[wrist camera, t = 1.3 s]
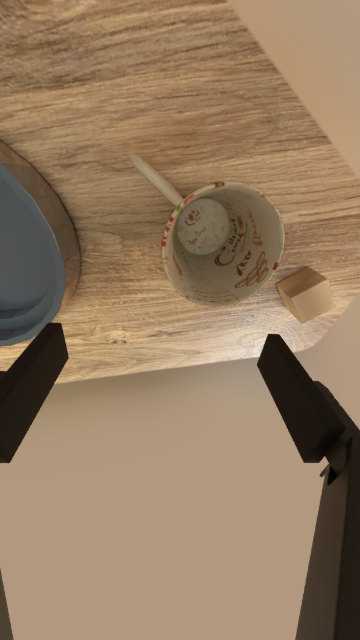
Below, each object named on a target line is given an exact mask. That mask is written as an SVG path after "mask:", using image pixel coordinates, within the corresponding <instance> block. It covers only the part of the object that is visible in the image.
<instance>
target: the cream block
mask: <svg viewBox="0 0 360 640" xmlns="http://www.w3.org/2000/svg"><path fill="white" fill-rule="evenodd" d="M276 286H277V288H278V291H279V293H280V295H281V297H282V300H283V302H284V304H285V306H286V308H287V309H288V310H289V311H290V312H291V313H292V314H293V315H294V316H295V317H296V318H297V320H298V321H299V322H300V323H301V324H302V323H304V322H306V321H308V320H310V319H312V318H314V317H316V316H318V315H320V314H322V313H324V312H326V311H329V310H331V309H333V308H335V307H336V305H335V301H334V298H333V295H332V291H331V288H330V285H329V282H328V279H327V278H325V277H324V276H322V275H320V274H319V273H317V272H315V271H314V270H312V269H310V268H309V267H306V268H304V269H302V270H300V271H299V272H297V273H295V274H293V275H291V276H290V277H288V278H286V279H284V280H282V281H281V282H279V283H277V284H276Z"/></svg>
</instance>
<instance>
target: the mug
mask: <svg viewBox="0 0 360 640" xmlns="http://www.w3.org/2000/svg"><path fill="white" fill-rule="evenodd" d="M130 159H131V162H132V164H133V165H134V166H135V167H136V169H137V170H138V171H139V172H140V173H141V174H142V175H143V176H144V177H145V178H146V179H147V180H148V181H149V182H150V183H151V184H152V185H153V186H154V187H155V188H156V189H157V190H159V191H160V192H161V193H162V194H163V195H164V196H165V197H166V198H167V199H168V200H169V201H170V202H171V203H172V204H174V205H175V206H176V209H175V210H174V211H173V213H172V215H171V216H170V218H169V220H168V222H167V225H166V227H165V230H164V234H163V238H162V246H161V255H162V262H163V267H164V270H165V273H166V275H167V277H168V279H169V281H170V283H171V284H172V285H173V287H174V288H175V289H176V290H177V291H178V292H179V293H180V294H181V295H182V296H183V297H185V298H186V299H188V300H190V301H192V302H194V303H196V304H199V305H203V306H208V307H225V306H230V305H234V304H237V303H240V302H242V301H244V300H246V299H248V298H250V297H251V296H253V295H254V294H256V293H257V292H258V291H259V290H261V289H262V288H263V287H264V286H265V285H266V283H267V282H268V281H269V280H270V279H271V277H272V276H273V274H274V273H275V271H276V269H277V267H278V265H279V263H280V260H281V257H282V253H283V249H284V238H285V236H284V226H283V222H282V218H281V216H280V213H279V211H278V209H277V207H276V206H275V204H274V203H273V202H272V200H271V199H270V198H269V197H268V196H267V195H266V194H265V193H263V192H262V191H261V190H259V189H257V188H256V187H254V186H252V185H249V184H246V183H243V182H237V181H221V182H215V183H211V184H208V185H206V186H203V187H201V188H199V189H197V190H195V191H194V192H192V193H191V194H190V195H188V196H187V197H186V198H185V199H183V198H182V196H181V195H180V194H179V193H178V192H177V191H176V190H175V188H174V187H173V186H172V185H171V184H170V183H169V182H168V181H167V179H166V178H165V177H164V176H162V175H161V174H160V173H159V172H157V171H156V170H155V169H153V168H152V167H151V166H150V165H148V164H147V163H146V162H145V161H144V160H143V159H142V158H141V157H140V156H138V155H137V154H132V155H131V156H130Z"/></svg>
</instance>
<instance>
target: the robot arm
mask: <svg viewBox="0 0 360 640" xmlns="http://www.w3.org/2000/svg"><path fill="white" fill-rule="evenodd" d="M68 358H69V357H68V352H67V347H66V343H65V338H64V334H63V329H62V325H61V323H49V322H48V323H47V324H46V325H45V327H44V328H43V329H42V330H41V331H40V333H39V334H38V335H37V336H36V337H35V339H34V340H33V341H32V342H31V343H30V344H29V346H28V347H27V348H26V349H25V350H24V352H23V353H22V354H21V355H20V356H19V357H18V359H17V360H16V361H15V362H14V363H13V365H12V366H11V367H10V368H9V369H8V371H0V463H10V461H11V460H12V458H13V456H14V454H15V452H16V451H17V449H18V447H19V445H20V444H21V442H22V440H23V438H24V437H25V435H26V433H27V431H28V429H29V427H30V425H31V424H32V422H33V420H34V419H35V417H36V415H37V413H38V412H39V410H40V408H41V406H42V404H43V402H44V400H45V399H46V397H47V395H48V394H49V392H50V390H51V388H52V387H53V385H54V383H55V381H56V379H57V378H58V376H59V374H60V372H61V370H62V369H63V367H64V365H65V363H66V362H67V360H68ZM257 366H258V368H259V370H260V372H261V375H262V377H263V379H264V381H265V383H266V385H267V387H268V389H269V391H270V393H271V395H272V397H273V399H274V401H275V404H276V406H277V408H278V410H279V412H280V414H281V416H282V418H283V420H284V422H285V424H286V426H287V428H288V431H289V433H290V435H291V437H292V439H293V441H294V443H295V445H296V447H297V449H298V451H299V453H300V456H301V458H302V460H303V462H304V463H319V462H320V461H321V460H322V459H323V457H324V456H325V457H326V458H327V460H328V462H329V464H328V465H327V466H326V467H325V469H324V470H323V471H322V472H321V474H320V476H321V477H323V476H324V475H325V478H324V483H323V489H322V495H321V500H320V506H319V511H318V517H317V522H316V527H315V533H314V539H313V545H312V550H311V555H310V561H309V566H308V572H307V577H306V583H305V589H304V594H303V600H302V605H301V611H300V617H299V622H298V627H297V633H296V639H295V640H360V430H359V429H358V427H357V426H356V425H355V423H354V422H353V421H352V419H351V418H350V417H349V416H348V414H347V413H346V412H345V411H344V409H343V408H342V407H341V406H340V405H339V403H338V401H337V400H336V399H334V396H333V395H332V393H331V392H330V391H329V389H328V388H326V387H325V386H324V385H323V384H321V383H320V382H319V381H313V380H312V379H311V378H310V377H309V375H308V374H307V372H306V371H305V369H304V368H303V367H302V365H301V364H300V362H299V361H298V360H297V358H296V357H295V356H294V354H293V353H292V351H291V350H290V349H289V347H288V346H287V344H286V343H285V342H284V340H283V339H282V337H281V336H280V335H279V334H268V336H267V339H266V341H265V344H264V347H263V350H262V352H261V355H260V358H259V360H258V363H257ZM0 640H13V635H12V630H11V624H10V619H9V613H8V608H7V602H6V597H5V592H4V586H3V581H2V576H1V570H0Z"/></svg>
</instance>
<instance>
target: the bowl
mask: <svg viewBox="0 0 360 640" xmlns="http://www.w3.org/2000/svg"><path fill="white" fill-rule="evenodd" d="M79 276H80V249H79V246H78V242H77V239H76V235H75V232H74V228H73V225H72V222H71V221H70V219H69V217H68V215H67V213H66V211H65V209H64V208H63V206H62V204H61V202H60V200H59V198H58V197H57V196H56V194H55V193H54V192H53V190H52V189H51V188H50V187H49V186H48V184H47V183H46V182H45V181H44V180H43V178H42V177H41V176H40V175H39V174H38V172H37V171H36V170H35V169H34V168H33V167H32V166H31V165H30V164H29V163H27V162H26V161H25V160H24V159H22V158H21V157H20V156H19V155H18V154H16V153H15V152H14V151H13V150H11V149H10V148H9V147H8V146H6V145H5V144H4V143H2V142H1V141H0V346H11V345H14V344H17V343H20V342H23V341H27V340H30V339H32V338H33V337H35V336H36V335H38V334H39V333H40V331H41V330H42V329H43V328H44V327H45V325H46V324H47V323H48V322H49V323H52V322H53V320H54V319H55V318H56V317H57V315H58V314H59V313H60V312H61V311H62V309H63V308H64V307H65V305H66V304H67V303H68V301H69V300H70V298H71V297H72V296H73V294H74V292H75V289H76V286H77V283H78V279H79Z"/></svg>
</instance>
